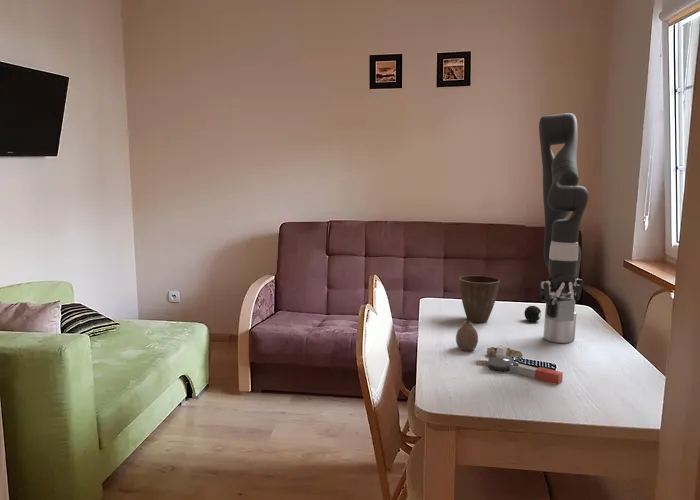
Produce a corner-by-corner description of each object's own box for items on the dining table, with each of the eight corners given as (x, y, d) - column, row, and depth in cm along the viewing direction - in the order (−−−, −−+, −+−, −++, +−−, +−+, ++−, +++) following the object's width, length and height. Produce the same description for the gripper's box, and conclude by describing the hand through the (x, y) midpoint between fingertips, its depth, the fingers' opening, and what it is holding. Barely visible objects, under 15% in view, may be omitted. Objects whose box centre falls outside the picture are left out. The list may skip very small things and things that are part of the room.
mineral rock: (485, 353, 172) (488, 339, 179) (484, 365, 174) (486, 350, 181) (522, 358, 169) (523, 344, 176) (521, 371, 171) (522, 356, 178)
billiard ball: (528, 318, 222) (529, 303, 221) (543, 321, 218) (544, 306, 217) (521, 321, 218) (522, 305, 217) (536, 324, 214) (537, 308, 213)
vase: (477, 353, 178) (479, 326, 177) (455, 351, 180) (456, 324, 178) (477, 346, 185) (478, 320, 184) (455, 345, 186) (456, 318, 185)
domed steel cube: (560, 315, 166) (561, 292, 165) (573, 320, 161) (575, 296, 160) (545, 317, 164) (546, 293, 163) (558, 322, 159) (560, 297, 158)
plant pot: (450, 321, 215) (453, 279, 212) (465, 313, 227) (467, 273, 225) (489, 328, 207) (492, 284, 205) (502, 319, 220) (504, 278, 217)
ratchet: (494, 362, 170) (495, 342, 170) (564, 379, 158) (566, 357, 157) (483, 368, 165) (485, 347, 164) (555, 386, 152) (557, 364, 151)
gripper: (574, 254, 166) (569, 310, 169) (533, 256, 161) (529, 315, 164) (593, 258, 159) (588, 317, 162) (552, 261, 154) (547, 322, 157)
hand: (559, 315), depth 163 cm, fingers closed on domed steel cube, 5 cm apart
